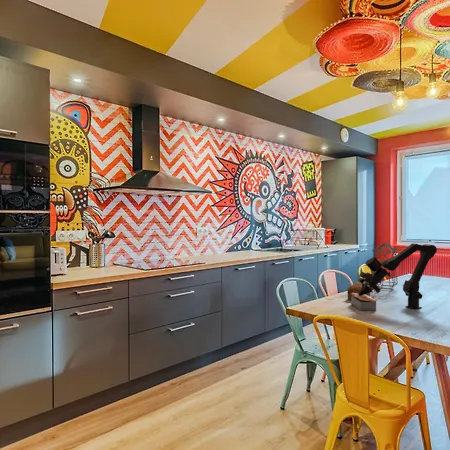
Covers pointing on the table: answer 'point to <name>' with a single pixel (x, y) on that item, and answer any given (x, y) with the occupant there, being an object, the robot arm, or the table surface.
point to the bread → (355, 290)
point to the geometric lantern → (383, 261)
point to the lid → (364, 297)
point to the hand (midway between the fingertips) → (358, 295)
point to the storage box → (363, 304)
